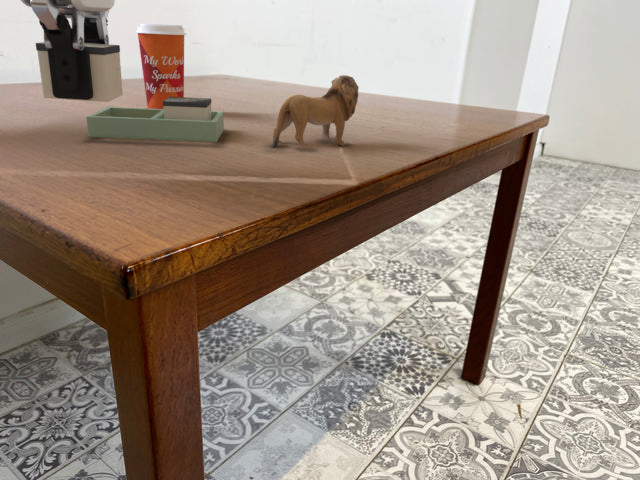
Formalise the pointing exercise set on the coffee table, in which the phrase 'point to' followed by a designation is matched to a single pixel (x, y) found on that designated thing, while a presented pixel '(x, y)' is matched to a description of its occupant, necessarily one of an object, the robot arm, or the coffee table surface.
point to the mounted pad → (187, 108)
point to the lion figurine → (319, 111)
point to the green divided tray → (152, 125)
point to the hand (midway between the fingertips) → (84, 92)
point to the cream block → (102, 71)
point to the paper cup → (162, 62)
